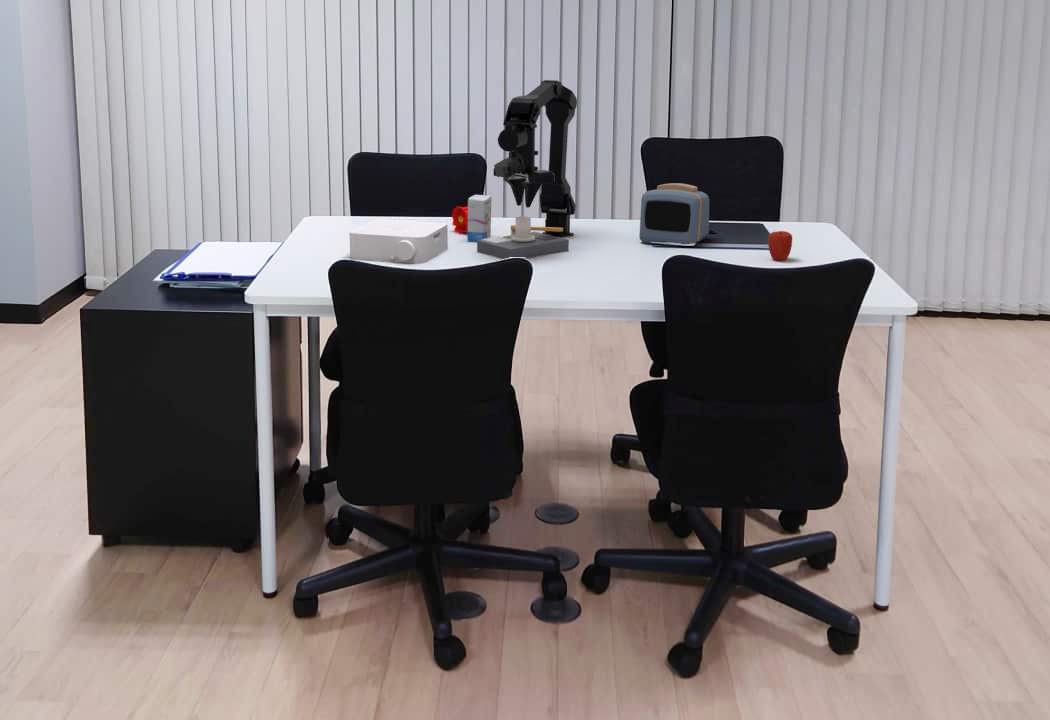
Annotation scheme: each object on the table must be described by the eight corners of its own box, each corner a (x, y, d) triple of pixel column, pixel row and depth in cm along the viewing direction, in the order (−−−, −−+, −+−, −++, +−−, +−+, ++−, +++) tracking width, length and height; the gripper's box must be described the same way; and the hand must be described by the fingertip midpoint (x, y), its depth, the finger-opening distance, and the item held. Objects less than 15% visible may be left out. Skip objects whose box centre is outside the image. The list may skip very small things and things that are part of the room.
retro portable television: (636, 244, 373) (638, 186, 369) (654, 233, 388) (656, 177, 383) (694, 249, 367) (697, 190, 363) (710, 238, 382) (713, 181, 377)
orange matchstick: (509, 230, 367) (509, 226, 367) (511, 228, 370) (511, 224, 369) (561, 232, 365) (562, 228, 365) (563, 230, 367) (563, 227, 367)
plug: (524, 247, 367) (524, 214, 364) (539, 251, 362) (540, 218, 360) (505, 250, 363) (506, 217, 360) (521, 254, 358) (521, 221, 356)
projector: (345, 260, 351) (344, 234, 349) (377, 243, 372) (376, 218, 370) (421, 265, 346) (421, 239, 344) (450, 248, 367) (449, 223, 365)
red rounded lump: (772, 256, 359) (773, 228, 357) (794, 258, 356) (796, 230, 354) (763, 260, 354) (765, 232, 352) (786, 263, 351) (788, 234, 349)
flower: (491, 215, 384) (467, 217, 380) (484, 237, 389) (460, 240, 384) (478, 200, 389) (454, 201, 385) (471, 222, 394) (447, 224, 389)
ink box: (484, 242, 373) (484, 199, 370) (467, 241, 374) (466, 198, 371) (491, 236, 382) (491, 194, 378) (474, 235, 382) (474, 193, 379)
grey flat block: (532, 241, 375) (532, 226, 374) (568, 250, 364) (568, 235, 362) (474, 251, 362) (474, 235, 361) (510, 260, 351) (510, 244, 350)
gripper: (477, 145, 357) (477, 204, 361) (523, 153, 343) (522, 214, 347) (510, 142, 364) (510, 200, 368) (556, 149, 350) (555, 210, 354)
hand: (523, 206), depth 359 cm, fingers open, 3 cm apart
